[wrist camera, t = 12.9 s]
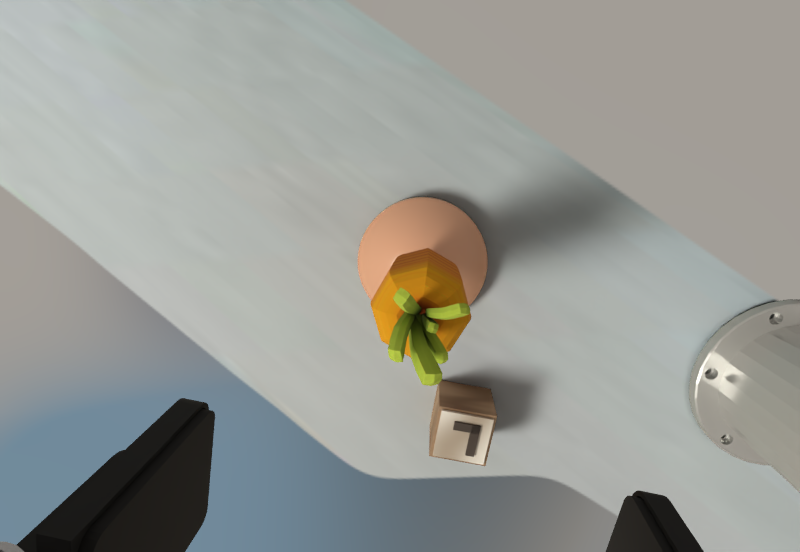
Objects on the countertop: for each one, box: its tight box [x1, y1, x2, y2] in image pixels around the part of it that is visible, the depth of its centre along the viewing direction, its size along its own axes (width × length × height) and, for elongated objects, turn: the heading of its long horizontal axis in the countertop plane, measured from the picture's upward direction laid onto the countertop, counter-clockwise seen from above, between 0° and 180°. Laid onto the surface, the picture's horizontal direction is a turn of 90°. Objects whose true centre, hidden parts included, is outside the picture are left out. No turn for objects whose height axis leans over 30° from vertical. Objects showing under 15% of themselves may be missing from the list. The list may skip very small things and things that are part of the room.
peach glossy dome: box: [358, 197, 488, 305], centre depth 33 cm, size 9×9×1 cm
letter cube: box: [429, 380, 497, 466], centre depth 35 cm, size 4×4×4 cm
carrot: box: [371, 248, 471, 386], centre depth 25 cm, size 5×5×15 cm
